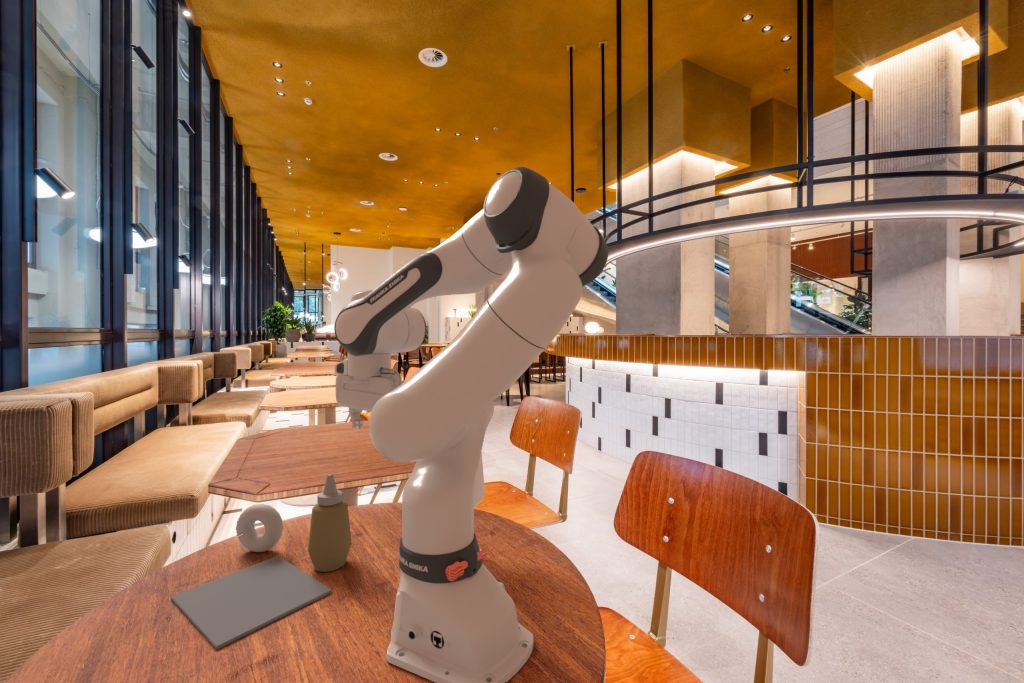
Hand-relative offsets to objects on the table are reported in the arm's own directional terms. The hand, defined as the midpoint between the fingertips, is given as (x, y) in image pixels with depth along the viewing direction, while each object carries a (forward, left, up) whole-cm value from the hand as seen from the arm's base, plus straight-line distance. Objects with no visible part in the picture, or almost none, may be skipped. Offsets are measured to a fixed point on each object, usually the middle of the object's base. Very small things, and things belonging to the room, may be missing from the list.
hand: (369, 431), depth 95 cm
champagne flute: (-19, -11, -26) cm, 34 cm away
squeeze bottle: (0, +9, -26) cm, 27 cm away
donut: (+17, +15, -26) cm, 34 cm away
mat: (+1, +23, -25) cm, 34 cm away
